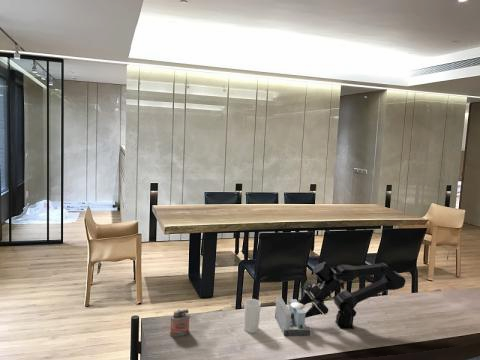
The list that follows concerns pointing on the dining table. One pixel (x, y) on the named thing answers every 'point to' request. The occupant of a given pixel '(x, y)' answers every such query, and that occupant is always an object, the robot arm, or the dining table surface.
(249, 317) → the mug
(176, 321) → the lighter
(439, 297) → the dining table surface
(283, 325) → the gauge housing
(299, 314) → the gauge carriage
